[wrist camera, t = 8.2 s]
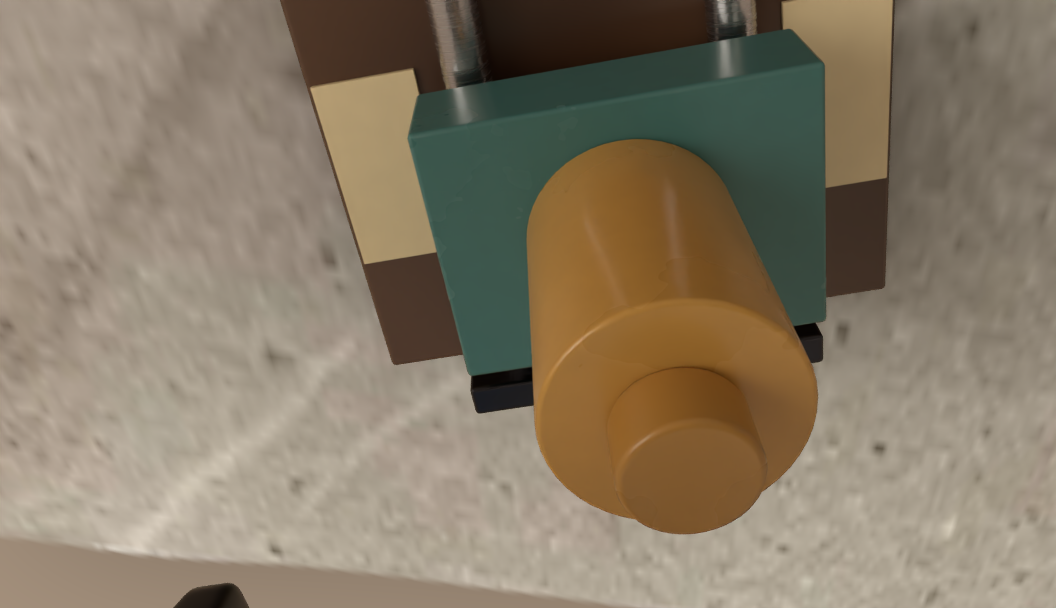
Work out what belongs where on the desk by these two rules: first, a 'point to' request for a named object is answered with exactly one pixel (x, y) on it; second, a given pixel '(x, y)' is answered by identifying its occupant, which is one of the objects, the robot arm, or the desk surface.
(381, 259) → the rail
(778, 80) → the teal slider with knob
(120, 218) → the desk surface
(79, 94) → the desk surface
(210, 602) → the robot arm
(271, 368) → the desk surface
